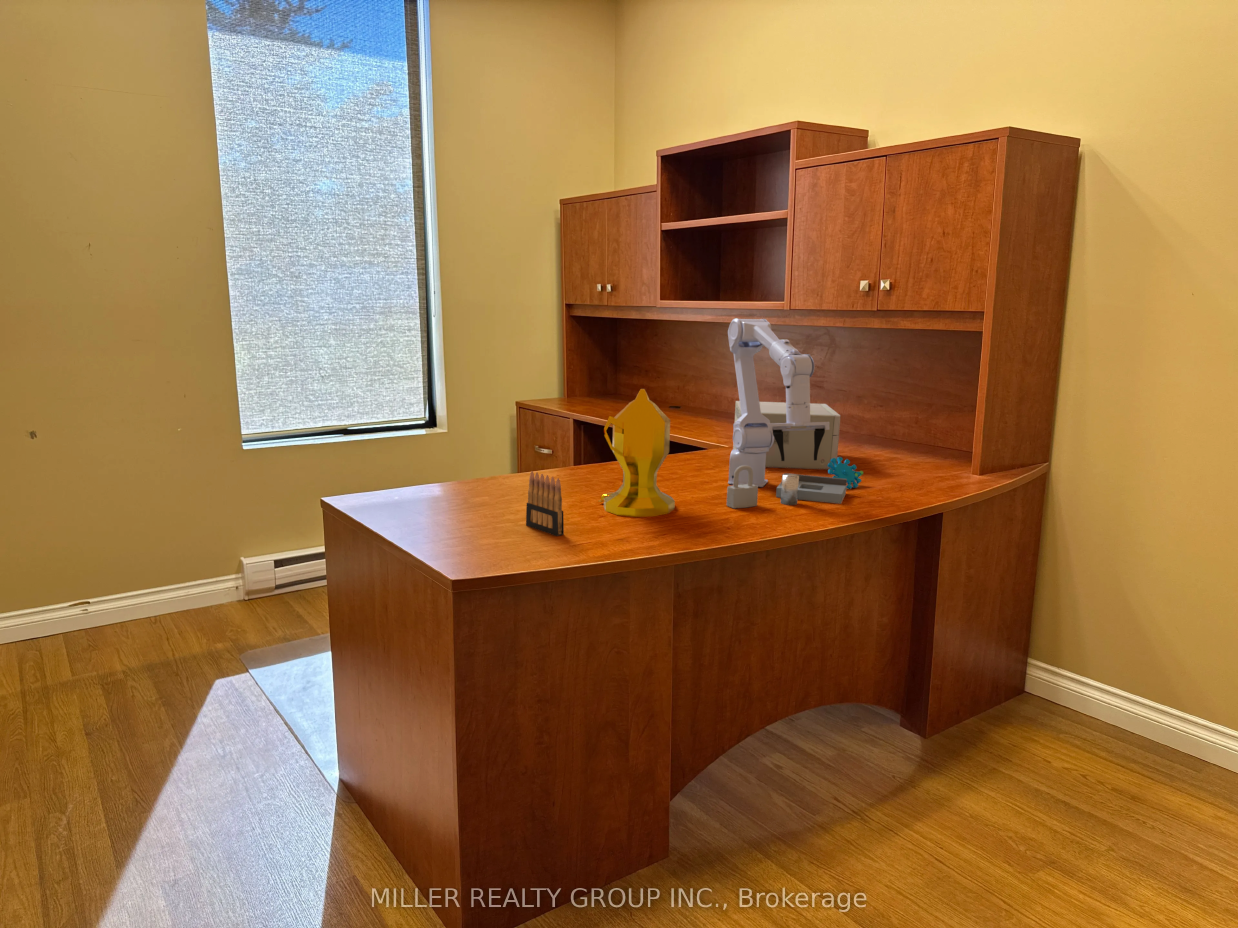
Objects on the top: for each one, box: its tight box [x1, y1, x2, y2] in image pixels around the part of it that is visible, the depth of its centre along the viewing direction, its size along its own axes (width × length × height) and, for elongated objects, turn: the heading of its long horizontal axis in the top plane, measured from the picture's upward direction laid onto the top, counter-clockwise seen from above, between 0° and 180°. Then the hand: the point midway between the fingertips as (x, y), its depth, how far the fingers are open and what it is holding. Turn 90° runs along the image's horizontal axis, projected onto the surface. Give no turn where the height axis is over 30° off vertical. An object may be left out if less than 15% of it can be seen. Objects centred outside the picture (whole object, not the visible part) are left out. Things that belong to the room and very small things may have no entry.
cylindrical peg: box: [780, 473, 800, 506], centre depth 208 cm, size 4×4×7 cm
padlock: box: [726, 465, 759, 509], centre depth 204 cm, size 7×4×10 cm, turn 118°
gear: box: [827, 456, 864, 490], centre depth 230 cm, size 11×6×10 cm
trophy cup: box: [597, 388, 676, 518], centre depth 198 cm, size 18×24×28 cm
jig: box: [775, 472, 848, 505], centre depth 217 cm, size 16×12×4 cm
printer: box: [732, 400, 841, 471], centre depth 263 cm, size 27×29×16 cm
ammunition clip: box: [525, 470, 565, 537], centre depth 179 cm, size 11×2×12 cm, turn 43°
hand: (799, 460), depth 207 cm, fingers open, 7 cm apart
